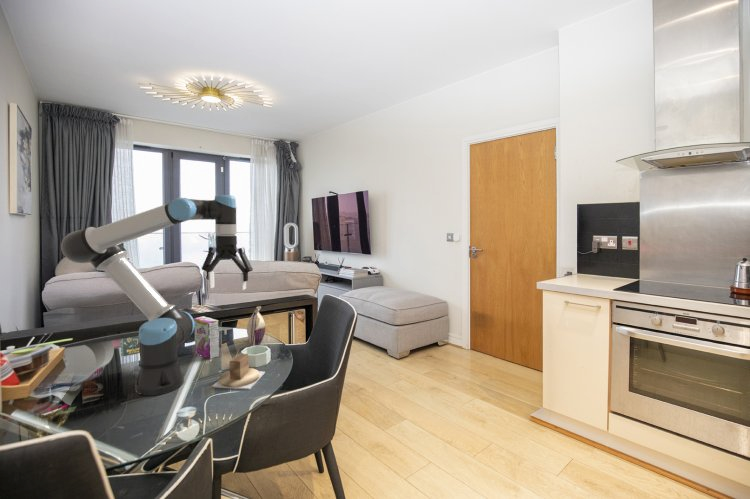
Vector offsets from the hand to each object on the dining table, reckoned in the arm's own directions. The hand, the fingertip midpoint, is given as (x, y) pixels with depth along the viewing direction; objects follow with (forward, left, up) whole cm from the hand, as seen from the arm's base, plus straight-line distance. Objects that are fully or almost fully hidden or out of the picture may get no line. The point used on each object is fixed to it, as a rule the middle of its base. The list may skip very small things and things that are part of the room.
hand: (227, 288), depth 144 cm
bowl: (+8, +8, -33) cm, 34 cm away
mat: (+9, -9, -33) cm, 35 cm away
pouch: (0, +27, -33) cm, 42 cm away
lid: (+9, -9, -32) cm, 35 cm away
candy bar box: (-16, +12, -33) cm, 39 cm away
